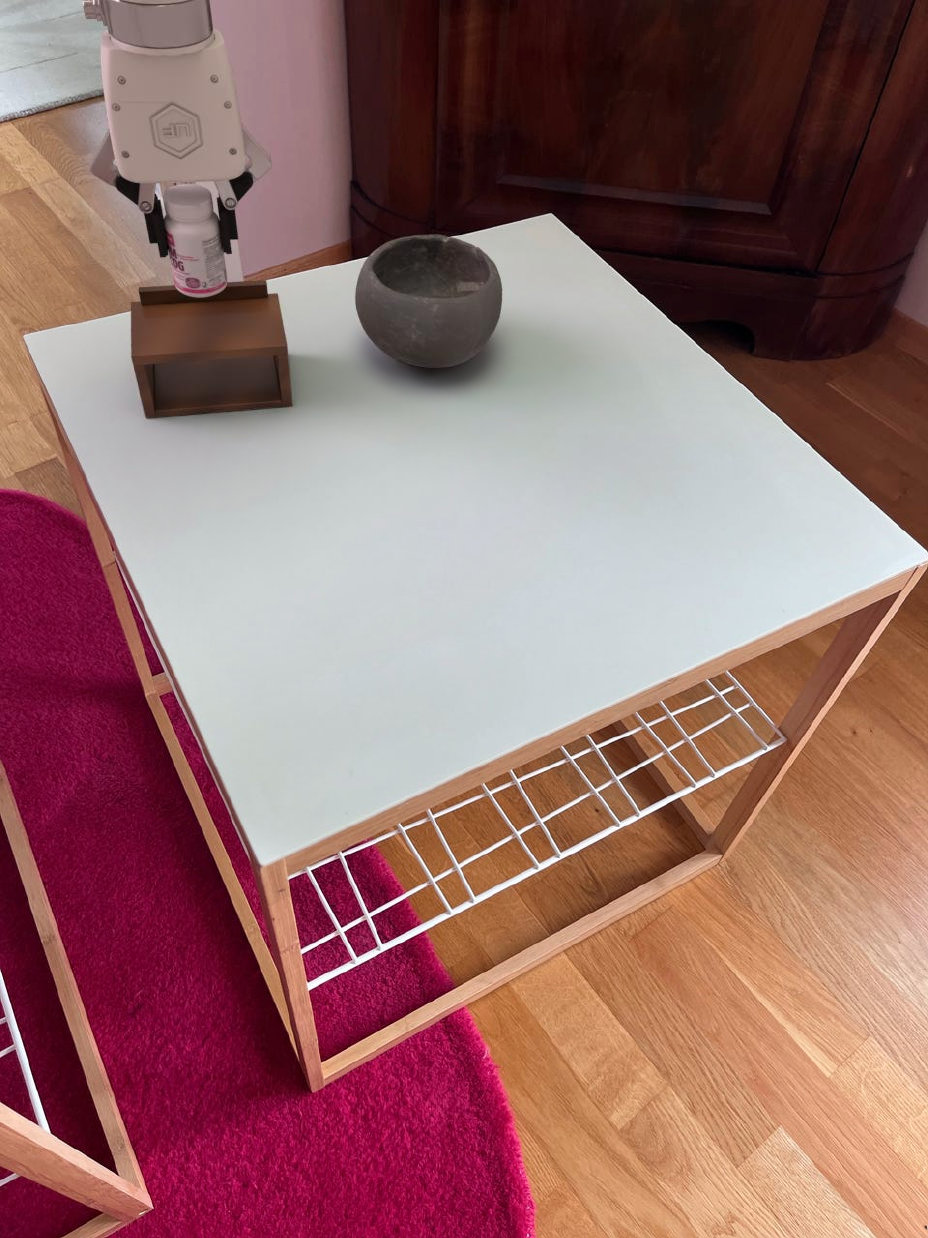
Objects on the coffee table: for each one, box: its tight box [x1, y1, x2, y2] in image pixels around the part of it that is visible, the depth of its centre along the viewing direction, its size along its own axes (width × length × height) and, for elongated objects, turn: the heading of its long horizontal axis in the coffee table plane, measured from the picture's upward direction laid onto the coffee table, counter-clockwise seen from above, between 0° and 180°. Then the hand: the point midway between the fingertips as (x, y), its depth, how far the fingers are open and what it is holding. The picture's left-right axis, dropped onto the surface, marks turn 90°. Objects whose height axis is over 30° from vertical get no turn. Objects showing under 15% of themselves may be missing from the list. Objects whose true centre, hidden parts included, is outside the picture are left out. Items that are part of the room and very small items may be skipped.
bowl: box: [354, 234, 503, 369], centre depth 97 cm, size 15×15×10 cm
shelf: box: [130, 279, 293, 419], centre depth 92 cm, size 14×9×8 cm, turn 103°
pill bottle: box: [162, 183, 228, 298], centre depth 83 cm, size 5×5×8 cm
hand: (195, 245), depth 84 cm, fingers closed on pill bottle, 4 cm apart
